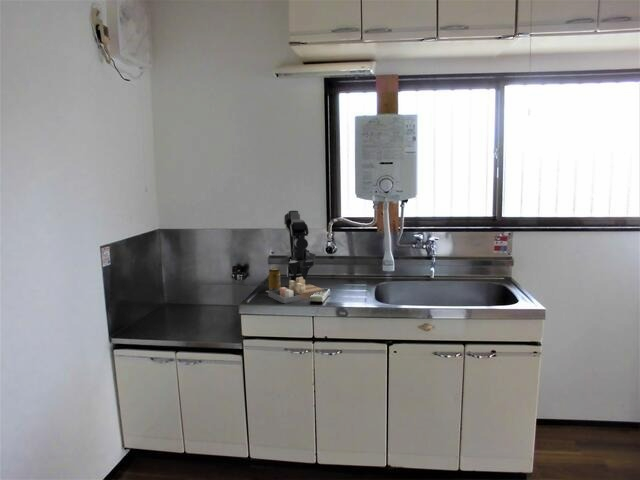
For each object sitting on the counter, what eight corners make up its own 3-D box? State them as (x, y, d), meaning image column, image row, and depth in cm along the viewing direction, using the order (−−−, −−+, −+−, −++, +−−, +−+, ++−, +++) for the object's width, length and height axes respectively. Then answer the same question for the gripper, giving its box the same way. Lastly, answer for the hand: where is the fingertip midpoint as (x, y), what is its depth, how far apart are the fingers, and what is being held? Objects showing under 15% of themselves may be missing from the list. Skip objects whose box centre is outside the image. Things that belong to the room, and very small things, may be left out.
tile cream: (289, 297, 223) (285, 297, 222) (289, 289, 222) (284, 289, 221) (293, 298, 220) (289, 299, 218) (293, 290, 219) (288, 291, 218)
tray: (268, 296, 227) (268, 291, 226) (284, 293, 231) (284, 288, 231) (284, 303, 213) (283, 298, 213) (300, 300, 218) (300, 295, 218)
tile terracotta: (284, 294, 227) (279, 295, 226) (284, 286, 227) (279, 287, 225) (288, 296, 224) (283, 297, 223) (287, 288, 224) (283, 289, 222)
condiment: (276, 289, 241) (276, 267, 239) (286, 292, 234) (285, 269, 233) (265, 291, 236) (264, 269, 235) (274, 294, 230) (273, 271, 228)
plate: (285, 294, 231) (285, 288, 230) (309, 289, 238) (309, 284, 238) (299, 300, 219) (299, 294, 218) (324, 295, 227) (324, 289, 226)
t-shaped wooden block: (289, 288, 230) (288, 276, 229) (297, 286, 233) (297, 275, 232) (301, 293, 220) (301, 280, 219) (310, 291, 223) (309, 279, 222)
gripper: (323, 247, 220) (323, 279, 222) (303, 243, 236) (304, 272, 238) (303, 249, 214) (304, 282, 216) (284, 245, 230) (285, 275, 232)
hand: (299, 278), depth 226 cm, fingers open, 9 cm apart
